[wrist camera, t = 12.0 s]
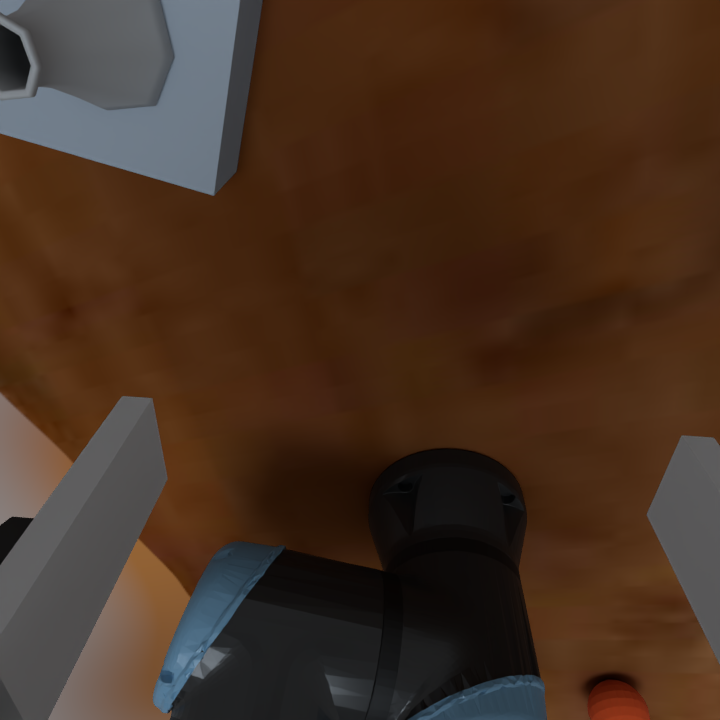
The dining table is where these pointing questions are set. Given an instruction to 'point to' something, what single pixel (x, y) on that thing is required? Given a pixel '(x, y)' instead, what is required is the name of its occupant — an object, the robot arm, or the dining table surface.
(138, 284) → the dining table surface
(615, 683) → the clementine
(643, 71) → the dining table surface
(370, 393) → the dining table surface
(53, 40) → the flask
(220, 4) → the grey block
